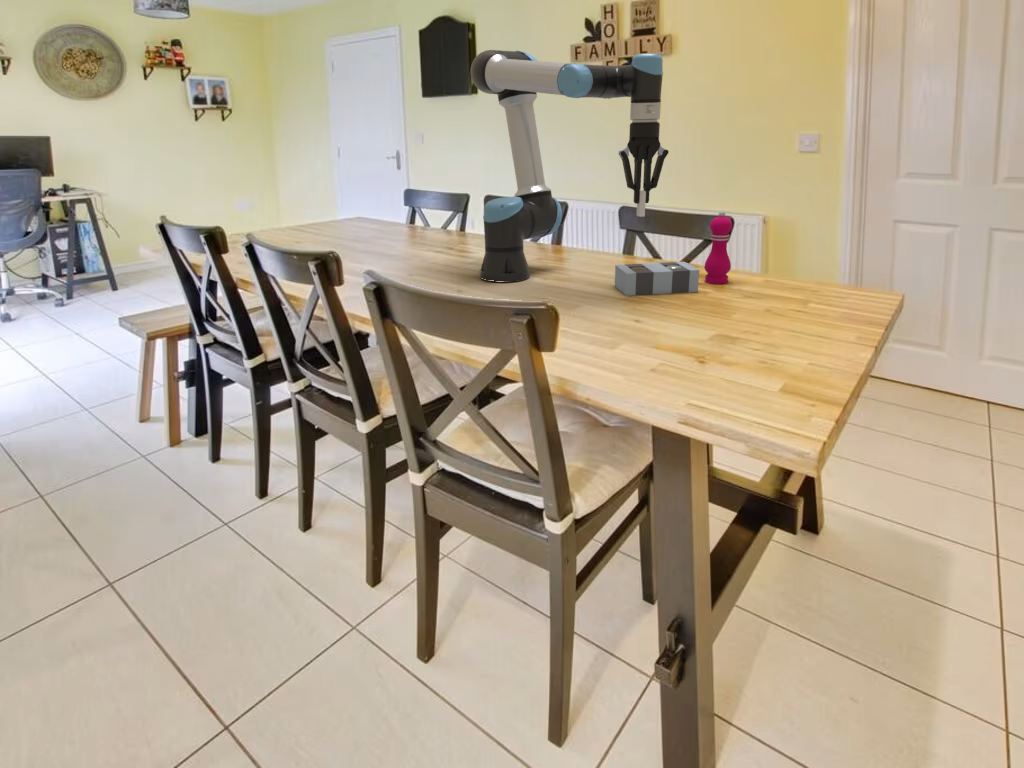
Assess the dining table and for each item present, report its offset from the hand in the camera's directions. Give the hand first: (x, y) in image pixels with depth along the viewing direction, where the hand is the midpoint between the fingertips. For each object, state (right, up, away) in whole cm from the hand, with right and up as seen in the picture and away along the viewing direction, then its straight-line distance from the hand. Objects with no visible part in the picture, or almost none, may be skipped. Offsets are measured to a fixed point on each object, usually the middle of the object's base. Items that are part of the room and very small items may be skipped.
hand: (640, 215), depth 180 cm
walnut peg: (+1, -19, +7) cm, 20 cm away
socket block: (+6, -18, +8) cm, 21 cm away
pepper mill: (+24, -16, +14) cm, 32 cm away
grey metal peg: (+11, -18, +8) cm, 23 cm away
